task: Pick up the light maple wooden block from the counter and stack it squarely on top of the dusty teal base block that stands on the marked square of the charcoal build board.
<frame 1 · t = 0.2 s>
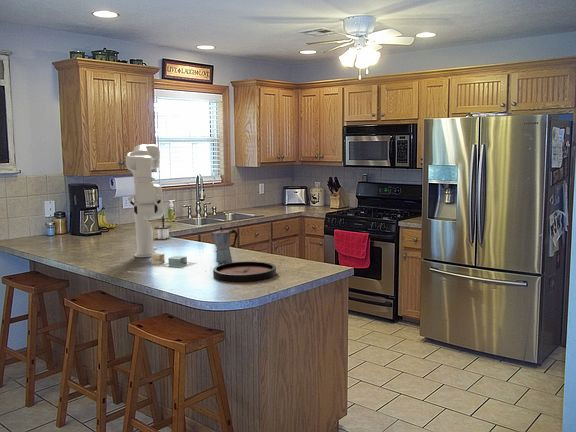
hand: (146, 213, 289), 30 cm above the counter, tool pointing down, fingers open, 9 cm apart
build board: (177, 266, 303), on the counter
round serving tray: (244, 276, 280), on the counter
maple block: (158, 265, 308), on the counter
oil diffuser: (163, 238, 399), on the counter
moka pot: (224, 262, 311), on the counter
teal base block: (177, 264, 302), point 1 cm above the counter, touching build board
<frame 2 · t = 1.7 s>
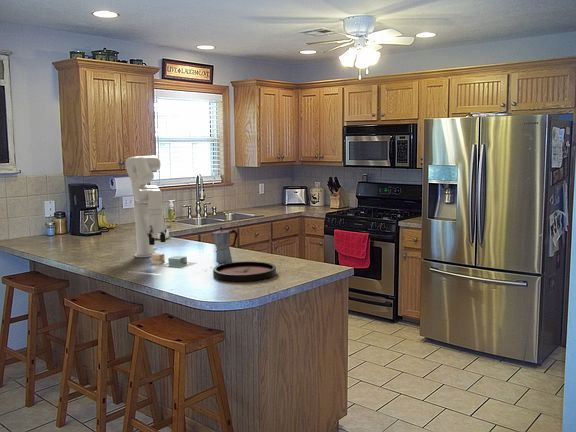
hand: (157, 243, 306), 12 cm above the counter, tool pointing down, fingers open, 9 cm apart
nothing on the counter moved.
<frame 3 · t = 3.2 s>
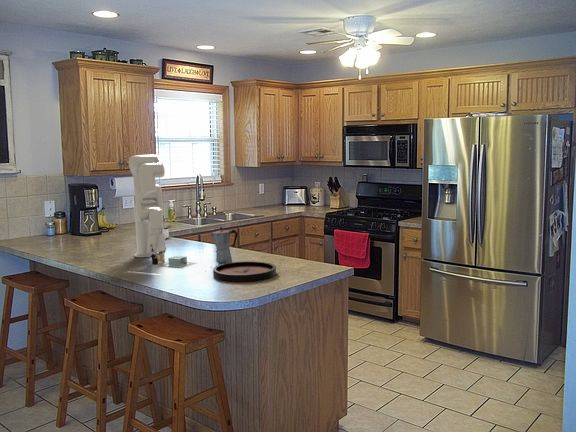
hand: (158, 263, 308), 1 cm above the counter, tool pointing down, fingers closed on maple block, 5 cm apart
maple block: (158, 264, 308), on the counter, touching gripper
everything else where it was.
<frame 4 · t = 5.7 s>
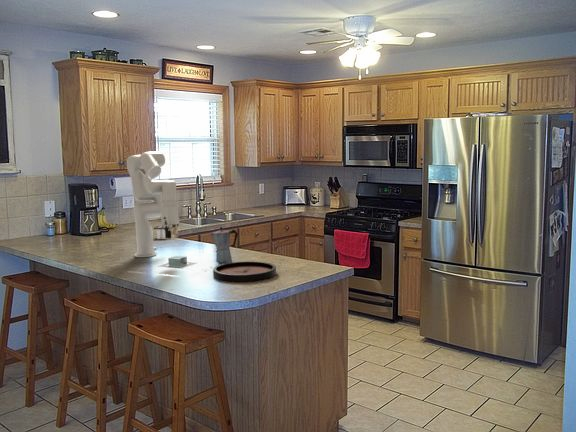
hand: (171, 237, 302), 16 cm above the counter, tool pointing down, fingers closed on maple block, 5 cm apart
maple block: (171, 238, 302), point 15 cm above the counter, touching gripper
everything else where it was.
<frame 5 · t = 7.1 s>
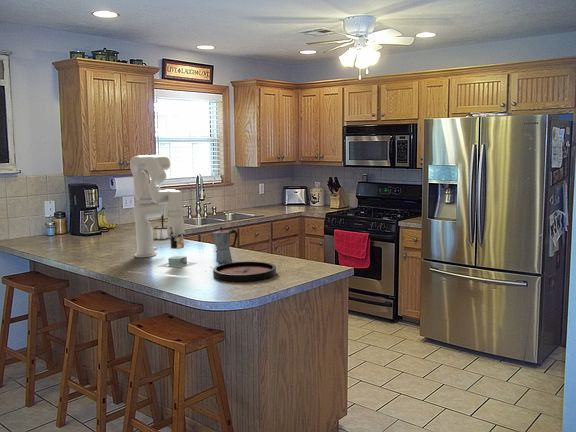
hand: (177, 246, 301), 11 cm above the counter, tool pointing down, fingers closed on maple block, 5 cm apart
maple block: (177, 248, 301), point 10 cm above the counter, touching gripper
everything else where it was.
when the fingers open (7 cm above the counter, at t = 8.3 s): maple block drops 1 cm, resting on teal base block.
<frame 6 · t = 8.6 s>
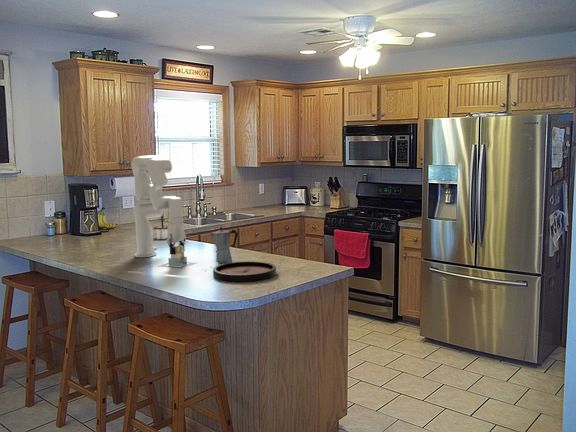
hand: (177, 252, 302), 8 cm above the counter, tool pointing down, fingers open, 7 cm apart
maple block: (177, 257, 302), point 5 cm above the counter, touching teal base block
teal base block: (177, 264, 302), point 1 cm above the counter, touching build board, maple block
everything else where it was.
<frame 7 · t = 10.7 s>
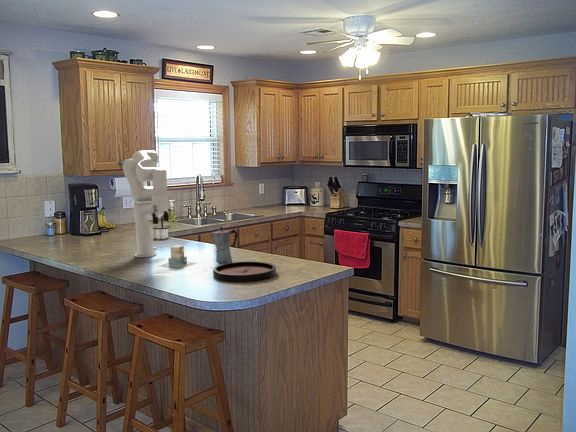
hand: (160, 222, 307), 23 cm above the counter, tool pointing down, fingers open, 9 cm apart
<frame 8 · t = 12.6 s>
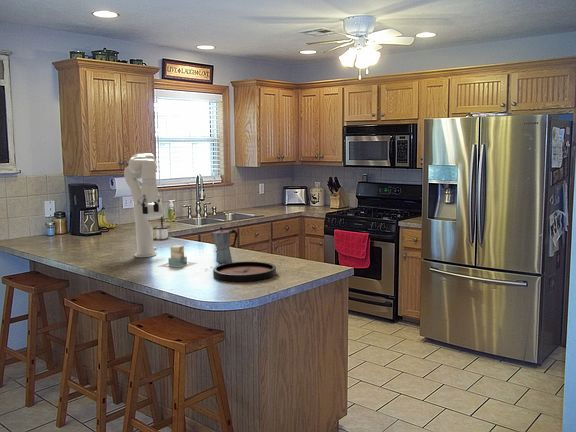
hand: (150, 212, 310), 28 cm above the counter, tool pointing down, fingers open, 9 cm apart
at the end: maple block 0.1 cm off-centre on the teal base block, point 4.0 cm above the teal base block's base; maple block tilted 0°; teal base block moved 0.0 cm from its start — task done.
